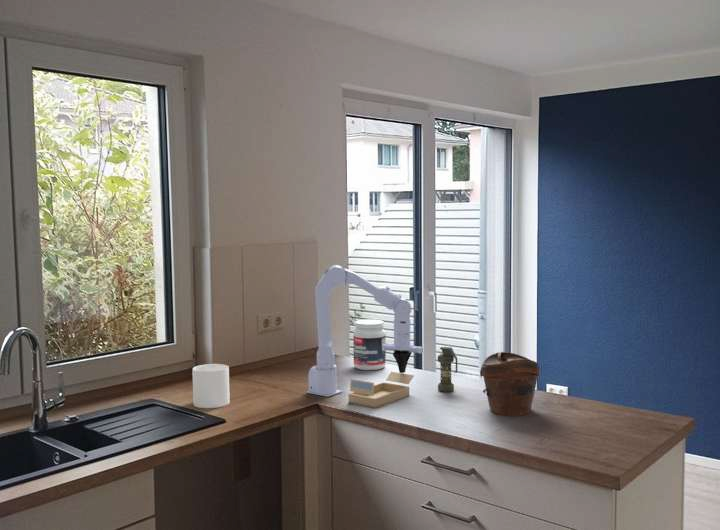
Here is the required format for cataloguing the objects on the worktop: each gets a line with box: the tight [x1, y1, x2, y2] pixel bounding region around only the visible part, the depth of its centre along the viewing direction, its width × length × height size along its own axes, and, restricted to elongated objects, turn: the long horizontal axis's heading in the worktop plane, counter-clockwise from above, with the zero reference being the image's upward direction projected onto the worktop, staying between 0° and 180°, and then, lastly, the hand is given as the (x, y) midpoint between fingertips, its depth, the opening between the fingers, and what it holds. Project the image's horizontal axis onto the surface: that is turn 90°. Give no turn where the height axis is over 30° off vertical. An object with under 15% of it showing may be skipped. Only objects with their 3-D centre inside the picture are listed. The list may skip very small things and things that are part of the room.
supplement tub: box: [352, 319, 387, 371], centre depth 287 cm, size 13×13×18 cm
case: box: [479, 351, 542, 417], centre depth 225 cm, size 18×20×18 cm
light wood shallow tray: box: [348, 381, 410, 409], centre depth 240 cm, size 11×19×3 cm, turn 142°
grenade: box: [437, 346, 458, 393], centre depth 249 cm, size 6×6×15 cm
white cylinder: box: [191, 363, 231, 409], centre depth 237 cm, size 12×12×12 cm
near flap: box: [349, 378, 375, 395], centre depth 232 cm, size 9×4×1 cm
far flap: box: [385, 371, 415, 385], centre depth 249 cm, size 9×4×1 cm
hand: (402, 372), depth 250 cm, fingers closed
